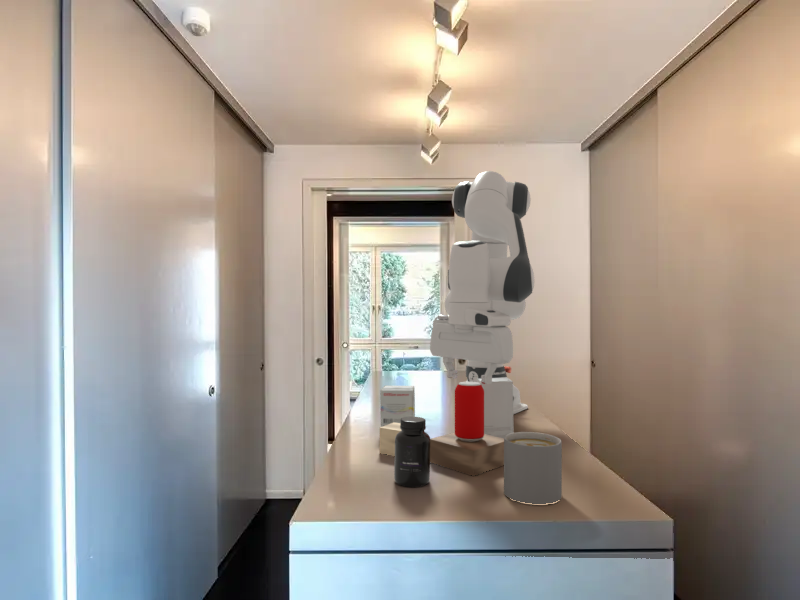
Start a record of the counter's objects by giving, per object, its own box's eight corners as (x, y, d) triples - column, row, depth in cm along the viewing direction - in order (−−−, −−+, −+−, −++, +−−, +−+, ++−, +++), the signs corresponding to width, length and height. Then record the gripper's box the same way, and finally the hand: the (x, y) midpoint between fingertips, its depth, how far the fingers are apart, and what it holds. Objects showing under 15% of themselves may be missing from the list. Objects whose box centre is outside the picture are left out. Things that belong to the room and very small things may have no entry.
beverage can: (486, 443, 108) (486, 385, 108) (455, 443, 108) (456, 385, 108) (482, 435, 114) (482, 380, 114) (453, 435, 114) (453, 380, 114)
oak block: (393, 447, 123) (394, 422, 123) (415, 451, 120) (416, 425, 120) (379, 454, 118) (379, 427, 118) (402, 458, 115) (402, 431, 115)
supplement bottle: (404, 490, 95) (404, 424, 95) (388, 479, 101) (388, 417, 101) (437, 484, 98) (437, 420, 98) (419, 473, 104) (419, 413, 104)
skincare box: (508, 434, 135) (508, 376, 135) (514, 440, 129) (514, 380, 129) (476, 434, 135) (476, 376, 135) (480, 440, 129) (480, 380, 129)
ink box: (415, 428, 142) (415, 384, 142) (413, 436, 133) (413, 389, 133) (384, 427, 143) (384, 383, 143) (379, 435, 134) (379, 389, 134)
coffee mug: (571, 505, 88) (571, 445, 88) (513, 507, 88) (513, 447, 88) (542, 478, 102) (542, 426, 102) (492, 479, 101) (492, 427, 101)
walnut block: (465, 451, 120) (465, 429, 120) (509, 463, 111) (509, 439, 111) (429, 462, 112) (429, 438, 112) (473, 476, 103) (473, 450, 103)
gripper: (423, 314, 117) (423, 376, 117) (498, 318, 102) (498, 389, 102) (443, 314, 121) (442, 373, 121) (517, 317, 106) (517, 385, 106)
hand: (468, 380), depth 111 cm, fingers open, 8 cm apart
